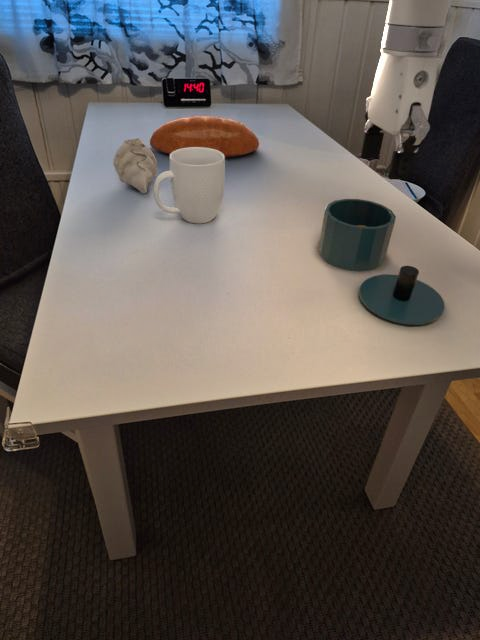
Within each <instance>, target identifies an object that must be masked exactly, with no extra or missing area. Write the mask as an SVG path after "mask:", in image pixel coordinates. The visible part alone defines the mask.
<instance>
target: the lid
mask: <svg viewBox="0 0 480 640" xmlns="http://www.w3.org/2000/svg"><path fill="white" fill-rule="evenodd" d="M419 274H420V271H419V269H417V268H416V266H415V267H414V266H411V265H403V266H401V267H400V269H399V271H398V274H377V275H374V276H370V277H368V278H366V279H365V280H364V281H363V282H362V283H361V284H360V287H359V290H358V291H359V292H358V295H359V298H360V301H361V302H362V304H363V305H364V306H365V308H367V309H368V310H369V311H370V312H372V313H373V314H375V315H376V316H378V317H380V318H382V319H384V320H386V321H390V322H393V323H396V324H402V325H408V326H409V325H411V326H420V325H427V324H431V323H433V322H435V321H437V320H438V319H439V318H441V316H442V315H443V313H444V311H445V301H444V299H443V297H442V295H441V294H440V293H439V291H437V290H435V289H434V288H433V287H432V286H430V285H429V284H427V283H425V282H423V281H421V280H419V279H418V277H419Z"/></svg>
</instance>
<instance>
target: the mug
mask: <svg viewBox="0 0 480 640" xmlns="http://www.w3.org/2000/svg"><path fill="white" fill-rule="evenodd" d="M168 157H169V170H166V171H163V172H161V173H160V174H158V176H157V177H156V179H155V181H154V184H153V192H152V193H153V198H154V201H155V203H156V205H157V206H158V207H159V209H160V210H162V211H164V212H166V213H171V214H179V215H180V216H181V217H182V219H184V221H186V222H189V223H190V224H191V223H192V224H207V223H209V222H211V221H212V220H214V218H215V217H216V216H217V215H218V212H219V211H220V209H221V206H222V202H223V200H224V199H223V198H224V195H225V194H224V193H225V183H226V182H225V179H226V174H225V173H226V164H225V163H226V157H225V156H224V154H223V153H221V152H220V151H218V150H215V149H211V148H205V147H188V148H182V149H178V150H175V151H173V152H172V153H171V154H169V156H168ZM166 179H170V186H171V194H172V196H173V200H174V204H175V206H174V207H172V206H171V207H169V206H167V205H164V204H163V202H162V201H161V199H160V195H159V194H160V193H159V189H160V185H161V183H162V182H163V181H164V180H166Z"/></svg>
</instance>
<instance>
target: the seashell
mask: <svg viewBox="0 0 480 640" xmlns="http://www.w3.org/2000/svg"><path fill="white" fill-rule="evenodd" d="M112 164H113V167H114V171H115V172H116V174H117V176H118V178H119V180H120V181H121V182H122V183H125V184H126V185H130V186H132V187H133V188H134V189H137V190H138V191H139V192H140V194H142V195H143V194H147V193H148V192H147V191H148V186H149V184H151V183H152V182H153V180H154V179H155V178H156V176H157V173H158V163H157V159H156V157H155V155H154V153H153V152H152V150H151V149H150V147H148V146H147V145H146V144H145V143H144V141H143V140H142V139H141V138H133V139H126V140H124V141H123V143H122V145H120V146H119V148H118V149H117V150H116V152H115V155H114V157H113V163H112Z"/></svg>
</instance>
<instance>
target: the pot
mask: <svg viewBox="0 0 480 640" xmlns="http://www.w3.org/2000/svg"><path fill="white" fill-rule="evenodd" d="M396 219H397V217H396V214H395V213H394V212H393V210H392V209H390V208H388V207H386V206H385V205H383V204H381V203H378V202H375V201H372V200H367V199H361V198H342V199H336V200H333V201H331V202H330V203H327V205H326V207H325V209H324V213H323V220H322V226H321V232H320V238H319V242H318V243H319V244H318V253H319V256H320V258H322V260H323V261H325V262H326V263H327V264H329V265H331V266H333V267H336V268H339V269H342V270H346V271H352V272H368V271H372V270H376V269H378V268H380V267H381V266H382V265H383V264H384V262H385V260H386V256H387V252H388V248H389V245H390V241H391V237H392V235H393V230H394V227H395V224H396ZM355 225H364V226H367V227H361V226H355Z"/></svg>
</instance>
